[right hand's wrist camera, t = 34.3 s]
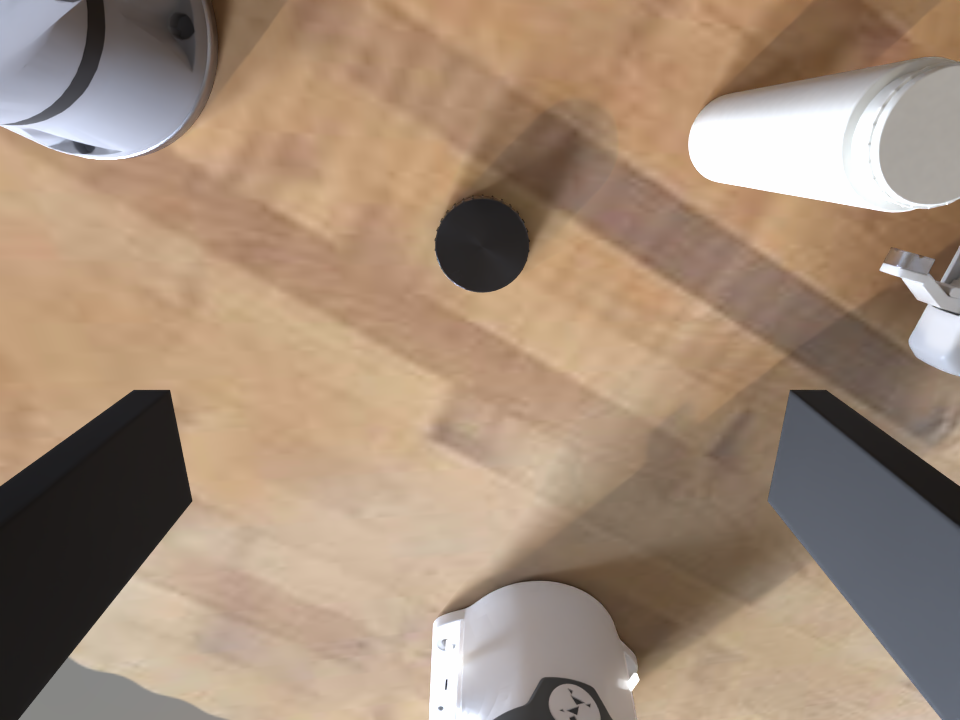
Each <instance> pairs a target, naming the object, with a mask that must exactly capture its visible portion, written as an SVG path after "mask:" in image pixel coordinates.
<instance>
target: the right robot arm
mask: <svg viewBox="0 0 960 720" xmlns="http://www.w3.org/2000/svg"><path fill="white" fill-rule="evenodd" d="M217 61H218V34H217V26H216V19H215V14H214V10H213V5H212V2H211V0H0V126H3V127H5V128H7V129H9V130H11V131H13V132H15V133H18V134H20V135H22V136H24V137H26V138H28V139H31V140H33V141H35V142H37V143H39V144H41V145H44V146H46V147H48V148H51V149H54V150H56V151H60V152H63V153H67V154H71V155H76V156H81V157H85V158H93V159H124V158H134V157H139V156H144V155H147V154H150V153H153V152H156V151H158V150H160V149H163V148H165V147H166V146H168V145H170V144H171V143H173V142H174V141H176V140H177V139H178V138H179V137H181V136H182V135H183V134H184V133H185V132H186V131H187V130H188V129H189V128H190V127H191V126H192V125H193V123H194V122H195V121H196V120H197V118H198V117H199V115H200V113H201V112H202V110H203V109H204V107H205V104H206V102H207V100H208V98H209V95H210V93H211V90H212V87H213V83H214V79H215V75H216V69H217ZM191 502H192V497H191V492H190V487H189V482H188V477H187V472H186V467H185V462H184V457H183V452H182V447H181V442H180V437H179V432H178V427H177V422H176V418H175V413H174V408H173V403H172V398H171V393H170V390H133V391H132V392H130V393H129V394H128V395H126V396H125V397H123V398H122V399H121V400H119V401H118V402H117V403H115V404H114V405H112V406H111V407H110V408H108V409H107V410H105V411H104V412H103V413H101V414H100V415H99V416H97V417H96V418H94V419H93V420H92V421H90V422H89V423H87V424H86V425H85V426H83V427H82V428H81V429H79V430H78V431H76V432H75V433H74V434H72V435H71V436H69V437H68V438H67V439H65V440H64V441H63V442H61V443H60V444H58V445H57V446H56V447H54V448H53V449H51V450H50V451H49V452H47V453H46V454H45V455H43V456H42V457H40V458H39V459H38V460H36V461H35V462H33V463H32V464H31V465H29V466H28V467H26V468H25V469H24V470H22V471H21V472H20V473H18V474H17V475H15V476H14V477H13V478H11V479H10V480H8V481H7V482H6V483H4V484H3V485H2V486H0V720H18V719H19V718H20V717H21V715H22V714H23V713H24V712H25V710H26V709H27V708H28V707H29V705H30V704H31V703H32V702H33V700H34V699H35V698H36V696H37V695H38V694H39V693H40V692H41V690H42V689H43V688H44V687H45V685H46V684H47V683H48V682H49V680H50V679H51V678H52V677H53V675H54V674H55V673H56V671H57V670H58V669H59V668H60V666H61V665H62V664H63V663H64V661H65V660H66V659H67V658H68V656H69V655H70V654H71V653H72V651H73V650H74V649H75V648H76V646H77V645H78V644H79V643H80V641H81V640H82V639H83V638H84V636H85V635H86V634H87V633H88V631H89V630H90V629H91V628H92V626H93V625H94V624H95V623H96V621H97V620H98V619H99V618H100V616H101V615H102V614H103V613H104V611H105V610H106V609H107V608H108V606H109V605H110V604H111V602H112V601H113V600H114V599H115V597H116V596H117V595H118V594H119V592H120V591H121V590H122V589H123V587H124V586H125V585H126V584H127V582H128V581H129V580H130V579H131V577H132V576H133V575H134V574H135V572H136V571H137V570H138V569H139V567H140V566H141V565H142V564H143V562H144V561H145V560H146V559H147V557H148V556H149V555H150V554H151V552H152V551H153V550H154V549H155V547H156V546H157V545H158V544H159V542H160V541H161V540H162V539H163V537H164V536H165V535H166V534H167V532H168V531H169V530H170V528H171V527H172V526H173V525H174V523H175V522H176V521H177V520H178V518H179V517H180V516H181V515H182V513H183V512H184V511H185V510H186V508H187V507H188V506H189V505H190V503H191ZM768 502H769V503H770V505H771V506H772V507H773V508H774V510H775V511H776V512H777V513H778V515H779V516H780V517H781V518H782V520H783V521H784V522H785V523H786V525H787V526H788V527H789V528H790V530H791V531H792V532H793V534H794V535H795V536H796V537H797V539H798V540H799V541H800V542H801V544H802V545H803V546H804V547H805V549H806V550H807V551H808V552H809V554H810V555H811V556H812V557H813V559H814V560H815V561H816V562H817V564H818V565H819V566H820V567H821V569H822V570H823V571H824V572H825V574H826V575H827V576H828V577H829V579H830V580H831V581H832V582H833V584H834V585H835V586H836V587H837V589H838V590H839V591H840V592H841V594H842V595H843V596H844V597H845V599H846V600H847V601H848V602H849V604H850V605H851V606H852V608H853V609H854V610H855V611H856V613H857V614H858V615H859V616H860V618H861V619H862V620H863V621H864V623H865V624H866V625H867V626H868V628H869V629H870V630H871V631H872V633H873V634H874V635H875V636H876V638H877V639H878V640H879V641H880V643H881V644H882V645H883V646H884V648H885V649H886V650H887V651H888V653H889V654H890V655H891V656H892V658H893V659H894V660H895V661H896V663H897V664H898V665H899V666H900V668H901V669H902V670H903V671H904V673H905V674H906V675H907V677H908V678H909V679H910V680H911V682H912V683H913V684H914V685H915V687H916V688H917V689H918V690H919V692H920V693H921V694H922V695H923V697H924V698H925V699H926V700H927V702H928V703H929V704H930V705H931V707H932V708H933V709H934V710H935V712H936V713H937V714H938V715H939V717H940V718H941V719H942V720H960V486H958V485H957V484H956V483H954V482H953V481H952V480H950V479H949V478H947V477H946V476H945V475H943V474H942V473H940V472H939V471H938V470H936V469H935V468H934V467H932V466H931V465H929V464H928V463H927V462H925V461H924V460H922V459H921V458H920V457H918V456H917V455H915V454H914V453H913V452H911V451H910V450H909V449H907V448H906V447H904V446H903V445H902V444H900V443H899V442H897V441H896V440H895V439H893V438H892V437H891V436H889V435H888V434H886V433H885V432H884V431H882V430H881V429H879V428H878V427H877V426H875V425H874V424H873V423H871V422H870V421H868V420H867V419H866V418H864V417H863V416H861V415H860V414H859V413H857V412H856V411H855V410H853V409H852V408H850V407H849V406H848V405H846V404H845V403H843V402H842V401H841V400H839V399H838V398H837V397H835V396H834V395H832V394H831V393H830V392H828V391H827V390H790V393H789V398H788V403H787V408H786V413H785V418H784V422H783V427H782V432H781V437H780V442H779V447H778V452H777V457H776V462H775V467H774V472H773V477H772V482H771V487H770V492H769V497H768Z"/></svg>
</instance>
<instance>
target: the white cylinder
mask: <svg viewBox="0 0 960 720" xmlns="http://www.w3.org/2000/svg"><path fill="white" fill-rule="evenodd" d="M689 153H690V157H691V160H692V162H693V164H694V166H695V167H696V169H697V170H698V171H699V172H700V173H701V174H702V175H703V176H704V177H706V178H708V179H710V180H712V181H716V182H720V183H726V184H732V185H737V186H743V187H749V188H754V189H760V190H766V191H771V192H777V193H783V194H789V195H794V196H800V197H806V198H811V199H817V200H823V201H828V202H834V203H840V204H845V205H851V206H857V207H862V208H868V209H874V210H880V211H886V212H904V211H910V210H914V209H917V208H924V209H930V208H934V207H938V206H943V205H948V204H950V203H952V202H954V201H956V200H958V199H960V62H956V61H954V60H950V59H947V58H941V57H923V58H917V59H912V60H906V61H901V62H896V63H890V64H885V65H880V66H874V67H869V68H864V69H858V70H853V71H847V72H842V73H837V74H831V75H826V76H821V77H815V78H810V79H805V80H799V81H794V82H789V83H783V84H778V85H773V86H767V87H762V88H757V89H751V90H746V91H741V92H735V93H730V94H726V95H723V96H720V97H718V98H716V99H714V100H713V101H711V102H710V103H709V104H707V105H706V106H705V107H704V108H703V109H702V110H701V112H700V113H699V114H698V116H697V117H696V119H695V121H694V123H693V125H692V128H691V131H690V135H689Z"/></svg>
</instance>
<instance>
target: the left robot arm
mask: <svg viewBox="0 0 960 720" xmlns="http://www.w3.org/2000/svg"><path fill="white" fill-rule="evenodd" d="M934 261H935V259H932V258H928V257H925V256H921V255H918V254H914V253H911V252H907V251H903V250H899V249H896V248H892V247H891V248H890V250H889V252H888V254H887V256H886V258H885V260H884V262H883V264H882V266H881V268H880V271H882V272H885V273H888V274H891V275H895V276H898V277H901V278H902V280H903V281H904V282H905V284H906V285H907V287H908V288H909V289H910V291H911V292H912V293H913V295H914V296H915V297H916V299H917V300H919V301H922V302H925V303H927V304H928V305H927V307H926V309H925V310H924V312H923V314H922V316H921V318H920V320H919V321H918V323H917V325H916V327H915V329H914V330H913V332H912V334H911V336H910V338H909V346H910V348H911V350H912V351H913V353H914V355H915V356H916V357H917V358H918V359H920V360H922V361H923V362H925V363H927V364H929V365H931V366H933V367H935V368H937V369H939V370H942V371H944V372H947V373H949V374H952V375H956V376H960V246H959V248H958V250H957V252H956V254H955V256H954V257H953V259H952V261H951V263H950V265H949V267H948V268H947V270H946V272H945V274H944V276H943V277H942V279H941V281H940V282H939V281H935V280H934V278H933V277H932V276H931V275H930V273H929V271H930V269H931V267H932V265H933V263H934ZM446 639H448V640H446ZM637 671H638V664H637V658H636V656H635V654H634V653H633V652H632V651H631V650H630V649H629V648H628V647H627V646H626V645H625V644H624V643H623V642H622V641H621V640H620V638H619V636H618V634H617V631H616V628H615V625H614V622H613V620H612V618H611V616H610V614H609V613H608V611H607V610H606V609H605V608H604V606H603V605H602V604H601V603H600V602H599V601H597V600H596V599H595V598H594V597H592V596H591V595H589V594H588V593H586V592H584V591H582V590H580V589H578V588H575V587H573V586H570V585H566V584H562V583H557V582H551V581H527V582H520V583H515V584H511V585H508V586H505V587H502V588H500V589H497V590H495V591H493V592H491V593H489V594H488V595H486V596H484V597H483V598H481V599H480V600H479V601H477V602H476V603H474V604H473V605H471V606H470V607H468V608H466V609H462V610H458V611H454V612H450V613H447V614H444V615H442V616H440V617H438V618H437V619H436V620H435V622H434V625H433V645H432V668H431V691H430V714H429V720H637V716H636V710H635V705H634V699H633V694H632V690H633V688H634V687H635V686H636V684H637V683H638V681H639V678H638V674H636V673H637Z"/></svg>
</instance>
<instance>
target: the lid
mask: <svg viewBox="0 0 960 720" xmlns="http://www.w3.org/2000/svg"><path fill="white" fill-rule="evenodd" d="M440 222H441V224H440V226H439V227H438V228H437V235H436V238H435V251H436V256H437V260H438V262H439V265H440V267H441V269H442V270H443V272H444V273H445V275H446V276H447V277H448V278H449V279H450V280H451V281H452V282H453V283H455V284H456V285H458V286H459V287H461V288H463V289H466V290H469V291H473V292H491V291H496V290H498V289H501V288H503V287H505V286H507V285H508V284H510V283H511V282H512V281H513V280H514V279H515V278H516V277H517V276H518V275H519V274H520V272H521V271H522V270H523V268H524V265H525V263H526V261H527V257H528V252H529V242H530V240H529V238H528V233H527V232H528V230H527V228H526V227H525V225H524V223H525V222H524V220H523V219H521V218H520V216H519V213H518V211H515V210H514V209H513V208H512V206H511V204H507V203H505V202H504V201H503V199H501V200H500V199H497V198H494V197H493V196H492V197H489V196H484V195H482V196H475V197H474V196H472V197H471V198H467V199H463V200H462V201H461V202H459V203H457V204H456V203H455V204H454V206H453V207H452V208H451V209H450V210H447V212H446V215H445V216H444V218H442V219H441V221H440Z"/></svg>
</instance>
